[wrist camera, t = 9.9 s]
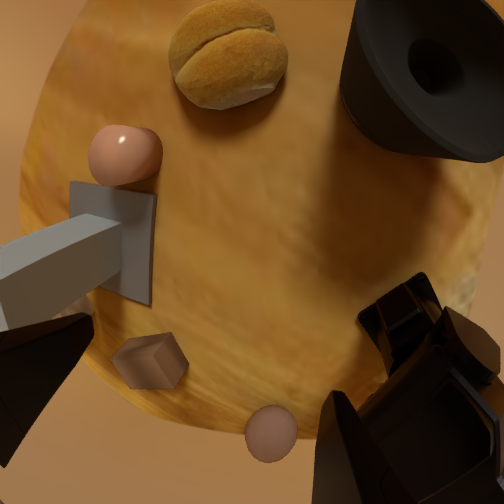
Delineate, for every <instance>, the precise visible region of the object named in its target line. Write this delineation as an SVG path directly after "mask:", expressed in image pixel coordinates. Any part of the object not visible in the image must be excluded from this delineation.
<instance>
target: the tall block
mask: <svg viewBox="0 0 504 504" xmlns="http://www.w3.org/2000/svg"><path fill="white" fill-rule="evenodd" d="M121 233H122V223H121V222H117V221H113V220H110V219H106V218H102V217H98V216H94V215H90V214H87V213H86V214H83V215H80V216H77V217H74V218H71V219H68V220H65V221H62V222H59V223H57V224H54V225H51V226H49V227H46V228H43V229H41V230H38V231H35V232H33V233H30V234H28V235H25V236H23V237H20V238H18V239H15V240H13V241H11V242H8V243H6V244H4V245H1V246H0V332H2V331H6V330H10V329H15V328H19V327H23V326H27V325H31V324H35V323H40V322H44V321H48V320H50V319H52V318H53V317H55V316H56V315H57V314H59V313H60V312H61V311H63V310H64V309H66V308H67V307H68V306H70V305H71V304H73V303H74V302H75V301H77V300H78V299H80V298H81V297H82V296H84V295H85V294H87V293H88V292H90V291H91V290H93V289H94V288H95V287H97V286H98V285H100V284H101V283H103V282H104V281H106V280H107V279H109V278H110V277H112V276H113V275H115V274H116V273H118V272H119V271H121Z"/></svg>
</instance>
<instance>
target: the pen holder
mask: <svg viewBox="0 0 504 504" xmlns="http://www.w3.org/2000/svg"><path fill="white" fill-rule="evenodd" d="M340 91H341V96H342V100H343V103H344V106H345V109H346V111H347V113H348V115H349V117H350V118H351V120H352V121H353V123H354V124H355V125H356V127H357V128H358V129H359V130H360V131H361V132H362V133H363V134H364V135H365V136H366V137H367V138H369V139H370V140H371V141H373V142H374V143H376V144H377V145H379V146H381V147H383V148H385V149H388V150H390V151H394V152H398V153H403V154H411V155H418V156H428V157H437V158H445V159H453V160H460V161H467V162H474V163H486V162H491V161H493V160H496V159H498V158H500V157H502V156H504V20H503V19H502V18H501V17H500V16H499V14H498V13H497V12H496V11H495V10H494V9H493V8H492V7H491V6H490V5H489V4H488V3H487V2H486V1H484V0H356V4H355V9H354V13H353V18H352V23H351V28H350V33H349V37H348V42H347V46H346V51H345V55H344V60H343V65H342V70H341V76H340Z"/></svg>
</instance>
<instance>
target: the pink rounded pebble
mask: <svg viewBox="0 0 504 504" xmlns="http://www.w3.org/2000/svg"><path fill="white" fill-rule="evenodd" d="M162 157H163V147H162V143H161V140H160V138H159V137H158V135H157V134H156V133H155V132H153V131H152V130H150V129H147V128H141V127H132V126H122V125H109V126H106V127H104V128H102V129H101V130H100V131H99V132H98V133H97V134H96V135H95V137H94V138H93V140H92V142H91V145H90V148H89V154H88V162H89V168H90V171H91V173H92V175H93V177H94V178H95V180H96V181H97V182H98V183H100V184H101V185H103V186H108V187H112V186H117V185H122V184H127V183H132V182H137V181H142V180H146V179H148V178H150V177H152V176H153V175H154V174H155V173H156V172H157V170H158V169H159V167H160V165H161V162H162Z"/></svg>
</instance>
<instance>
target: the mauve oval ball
mask: <svg viewBox="0 0 504 504" xmlns="http://www.w3.org/2000/svg"><path fill="white" fill-rule="evenodd" d="M297 434H298V427H297V422H296V420H295V418H294V416H293V415H292V414H291V413H290V412H289V411H288V410H286V409H285V408H283V407H280V406H268V407H264V408H261V409H260V410H258V411H257V412H255V413H254V414H253V415H252V417H251V418H250V419H249V421H248V424H247V427H246V431H245V440H246V443H247V447H248V450H249V451H250V453H251V454H252V456H253V457H254V458H256V459H257V460H259V461H261V462H264V463H272V462H276V461H279V460H280V459H282V458H283V457H285V456H286V455H287V454H288V453H289V452H290V450H291V449H292V448H293V446H294V444H295V442H296V439H297Z"/></svg>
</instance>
